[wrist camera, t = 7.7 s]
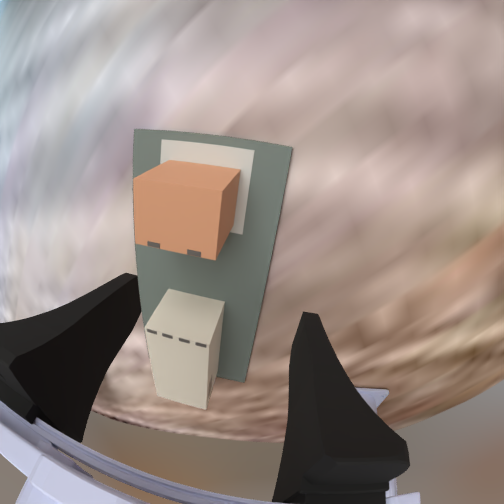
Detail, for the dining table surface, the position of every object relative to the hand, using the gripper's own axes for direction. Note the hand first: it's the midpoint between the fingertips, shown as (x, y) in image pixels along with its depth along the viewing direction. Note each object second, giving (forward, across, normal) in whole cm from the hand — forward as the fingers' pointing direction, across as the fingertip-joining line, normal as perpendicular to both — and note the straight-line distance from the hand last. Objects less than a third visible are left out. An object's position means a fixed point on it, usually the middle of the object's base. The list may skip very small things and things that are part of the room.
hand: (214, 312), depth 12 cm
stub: (+10, +4, -2) cm, 11 cm away
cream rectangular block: (+10, +4, +12) cm, 16 cm away
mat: (+10, +4, +6) cm, 12 cm away
